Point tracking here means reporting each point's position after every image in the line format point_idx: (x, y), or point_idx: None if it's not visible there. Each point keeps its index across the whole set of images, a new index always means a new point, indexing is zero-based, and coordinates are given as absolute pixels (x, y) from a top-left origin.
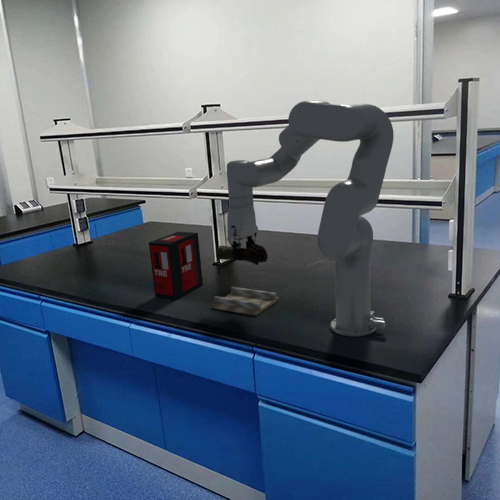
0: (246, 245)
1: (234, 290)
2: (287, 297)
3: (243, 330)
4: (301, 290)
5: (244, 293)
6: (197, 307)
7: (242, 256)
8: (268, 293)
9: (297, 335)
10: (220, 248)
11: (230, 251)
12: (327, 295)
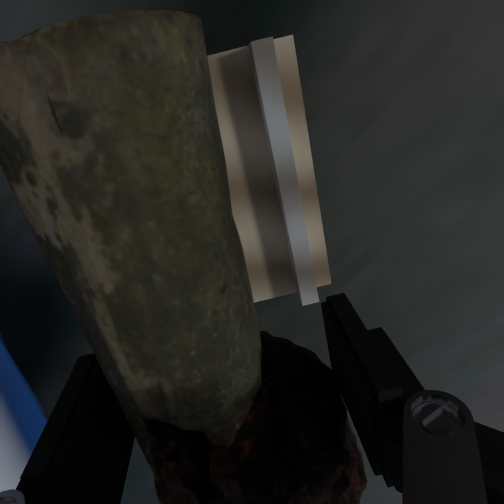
0: (350, 367)
1: (254, 72)
2: (373, 278)
3: (39, 370)
4: (466, 268)
5: (267, 142)
6: (6, 5)
7: (126, 453)
8: (297, 279)
9: (141, 481)
10: (7, 130)
11: (83, 327)
12: (450, 366)
